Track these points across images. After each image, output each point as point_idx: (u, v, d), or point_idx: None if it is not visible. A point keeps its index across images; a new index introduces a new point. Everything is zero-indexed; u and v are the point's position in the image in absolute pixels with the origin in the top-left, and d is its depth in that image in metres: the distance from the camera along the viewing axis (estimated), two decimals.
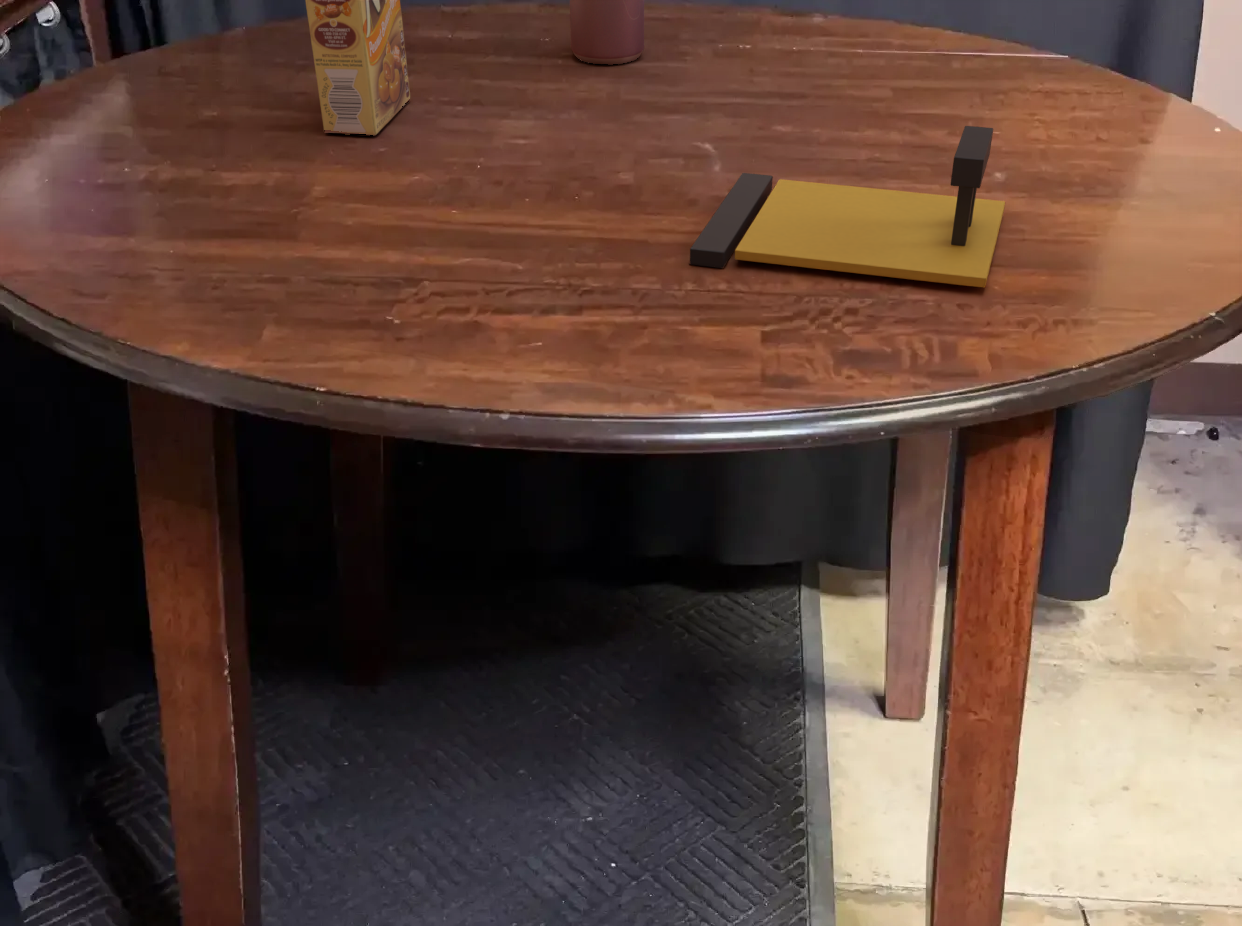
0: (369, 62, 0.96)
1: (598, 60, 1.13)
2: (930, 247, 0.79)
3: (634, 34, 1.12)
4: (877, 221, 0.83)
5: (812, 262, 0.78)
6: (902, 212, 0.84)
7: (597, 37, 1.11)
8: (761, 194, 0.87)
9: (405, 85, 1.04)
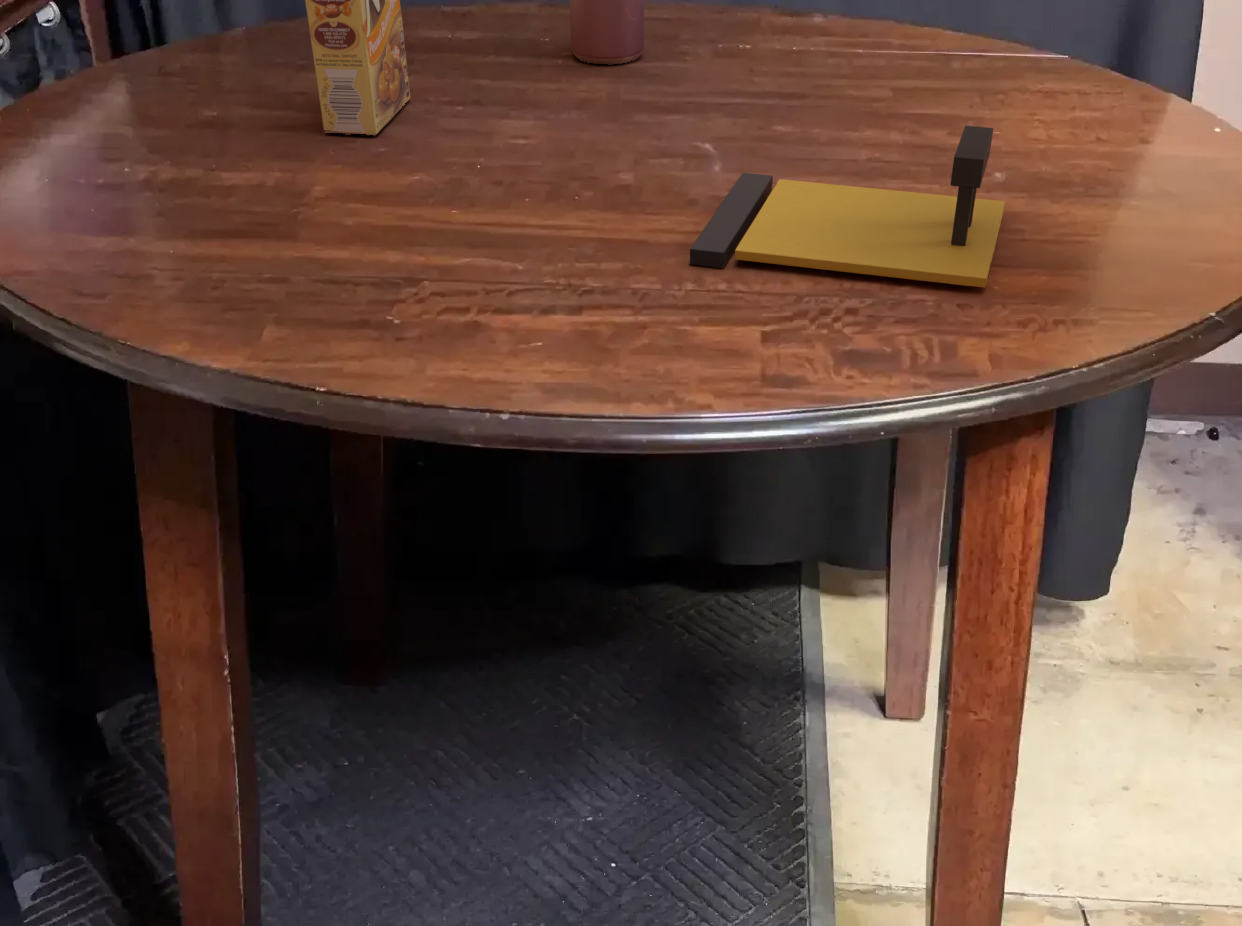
0: (369, 62, 0.96)
1: (598, 60, 1.13)
2: (930, 247, 0.79)
3: (634, 34, 1.12)
4: (877, 221, 0.83)
5: (812, 262, 0.78)
6: (902, 212, 0.84)
7: (597, 37, 1.11)
8: (761, 194, 0.87)
9: (405, 85, 1.04)
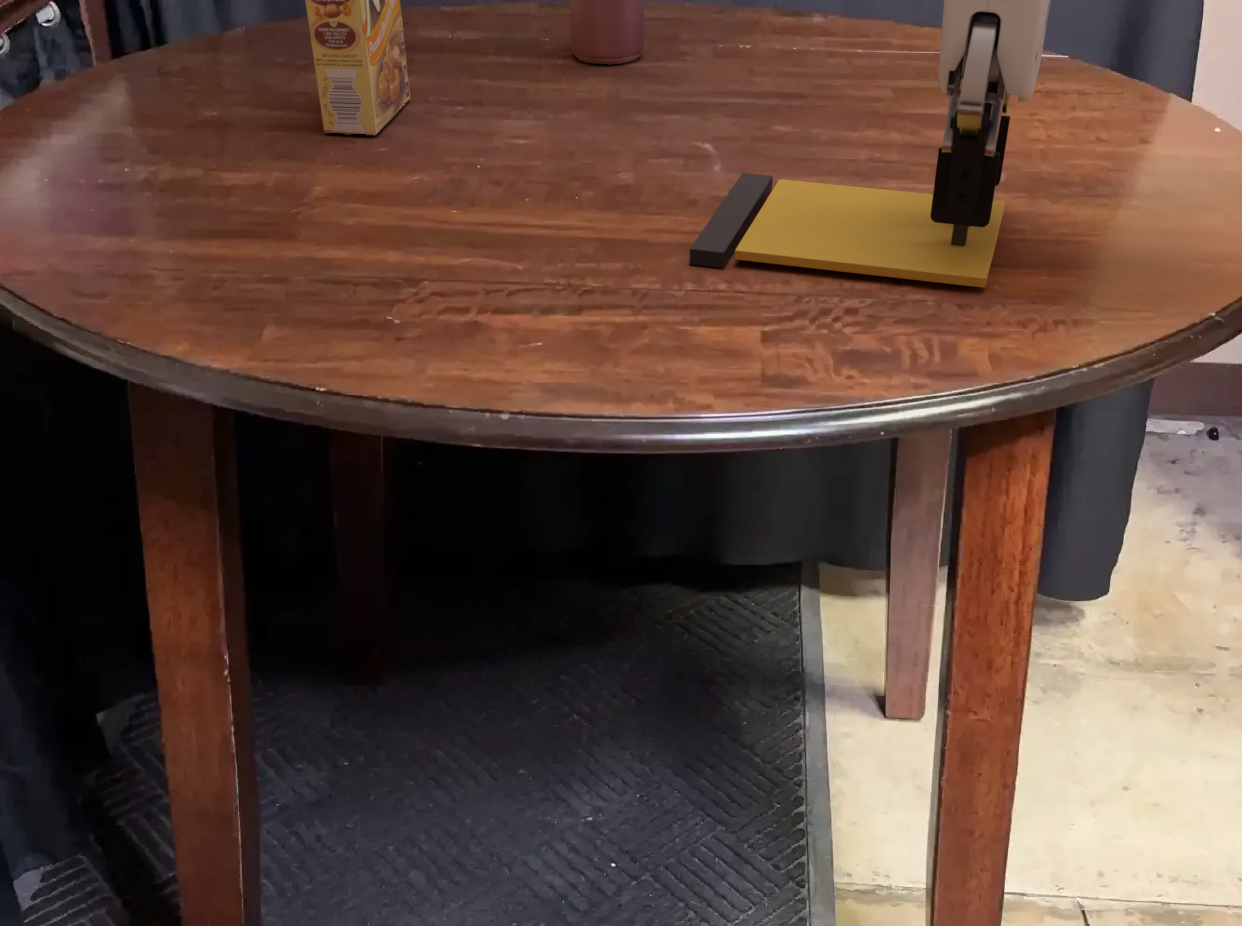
0: (369, 62, 0.96)
1: (598, 60, 1.13)
2: (930, 247, 0.79)
3: (634, 34, 1.12)
4: (877, 221, 0.83)
5: (812, 262, 0.78)
6: (902, 212, 0.84)
7: (597, 37, 1.11)
8: (761, 194, 0.87)
9: (405, 85, 1.04)
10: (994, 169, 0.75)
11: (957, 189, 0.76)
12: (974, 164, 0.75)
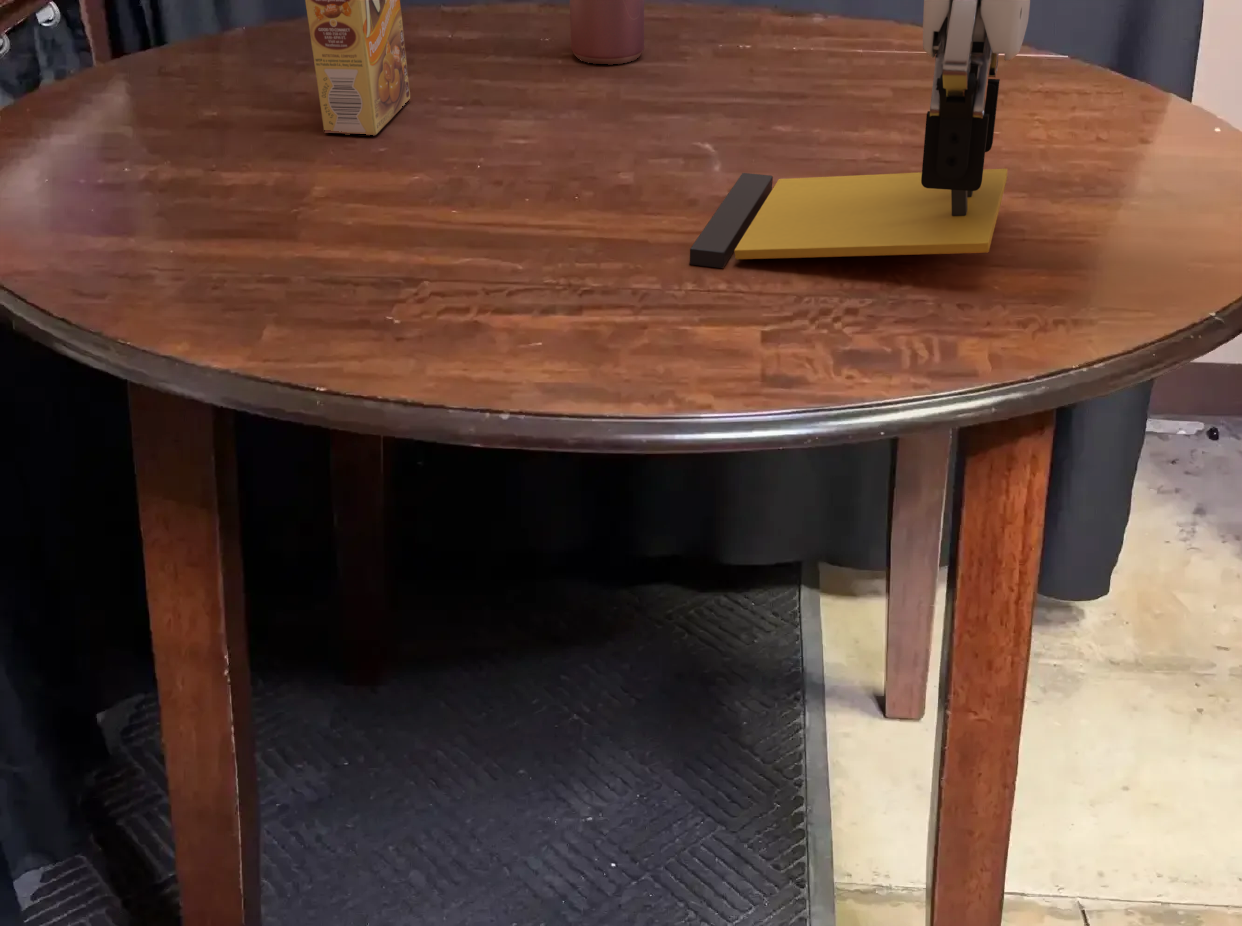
0: (369, 62, 0.96)
1: (598, 60, 1.13)
2: (931, 221, 0.79)
3: (634, 34, 1.12)
4: (877, 204, 0.82)
5: (812, 251, 0.78)
6: (902, 192, 0.83)
7: (597, 37, 1.11)
8: (761, 194, 0.87)
9: (405, 85, 1.04)
10: (983, 131, 0.74)
11: (947, 153, 0.75)
12: (963, 126, 0.74)
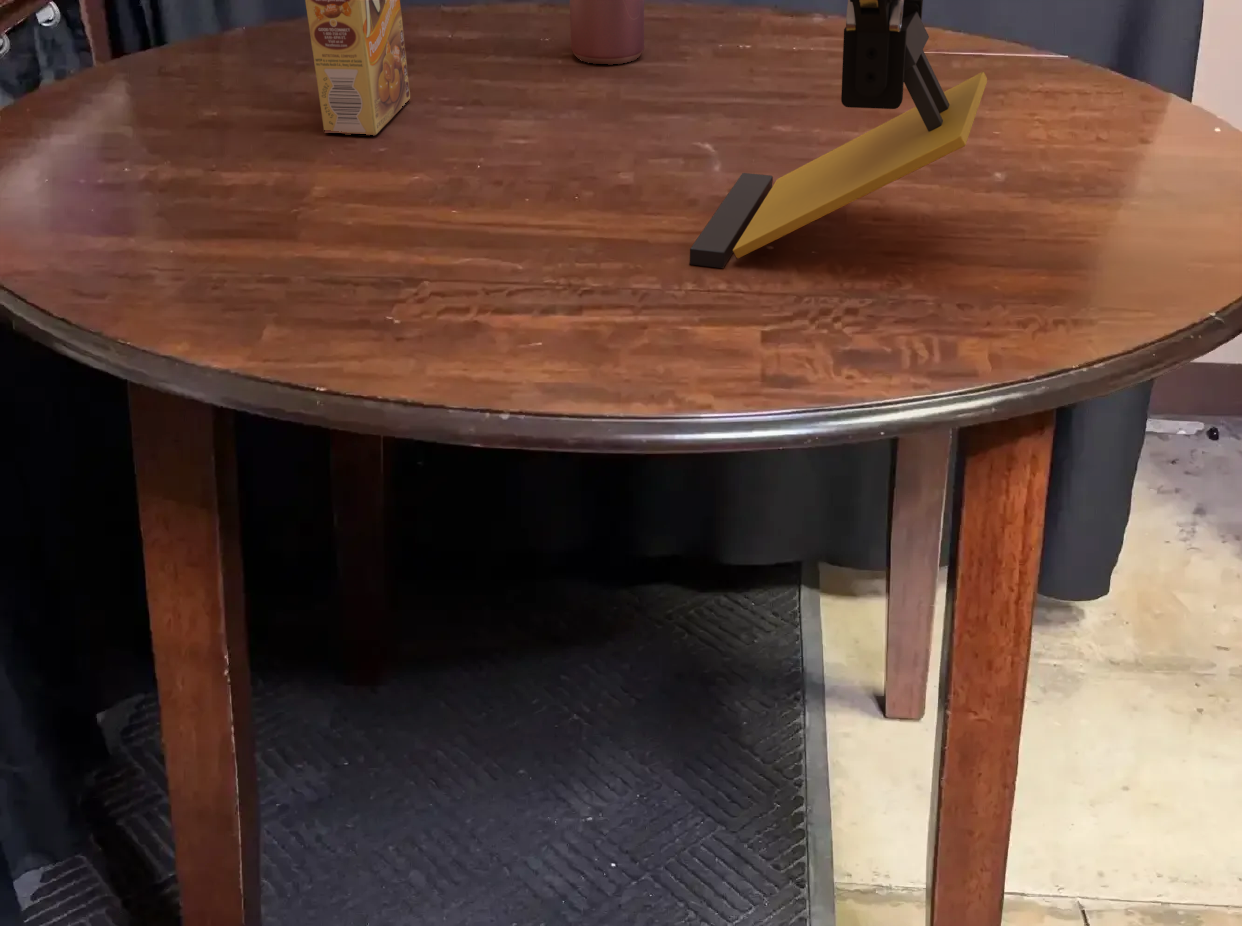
0: (369, 62, 0.96)
1: (598, 60, 1.13)
2: (909, 145, 0.77)
3: (634, 34, 1.12)
4: (861, 156, 0.81)
5: (802, 219, 0.77)
6: (885, 136, 0.82)
7: (597, 37, 1.11)
8: (761, 194, 0.87)
9: (405, 85, 1.04)
10: (901, 46, 0.73)
11: (865, 69, 0.73)
12: (880, 41, 0.72)
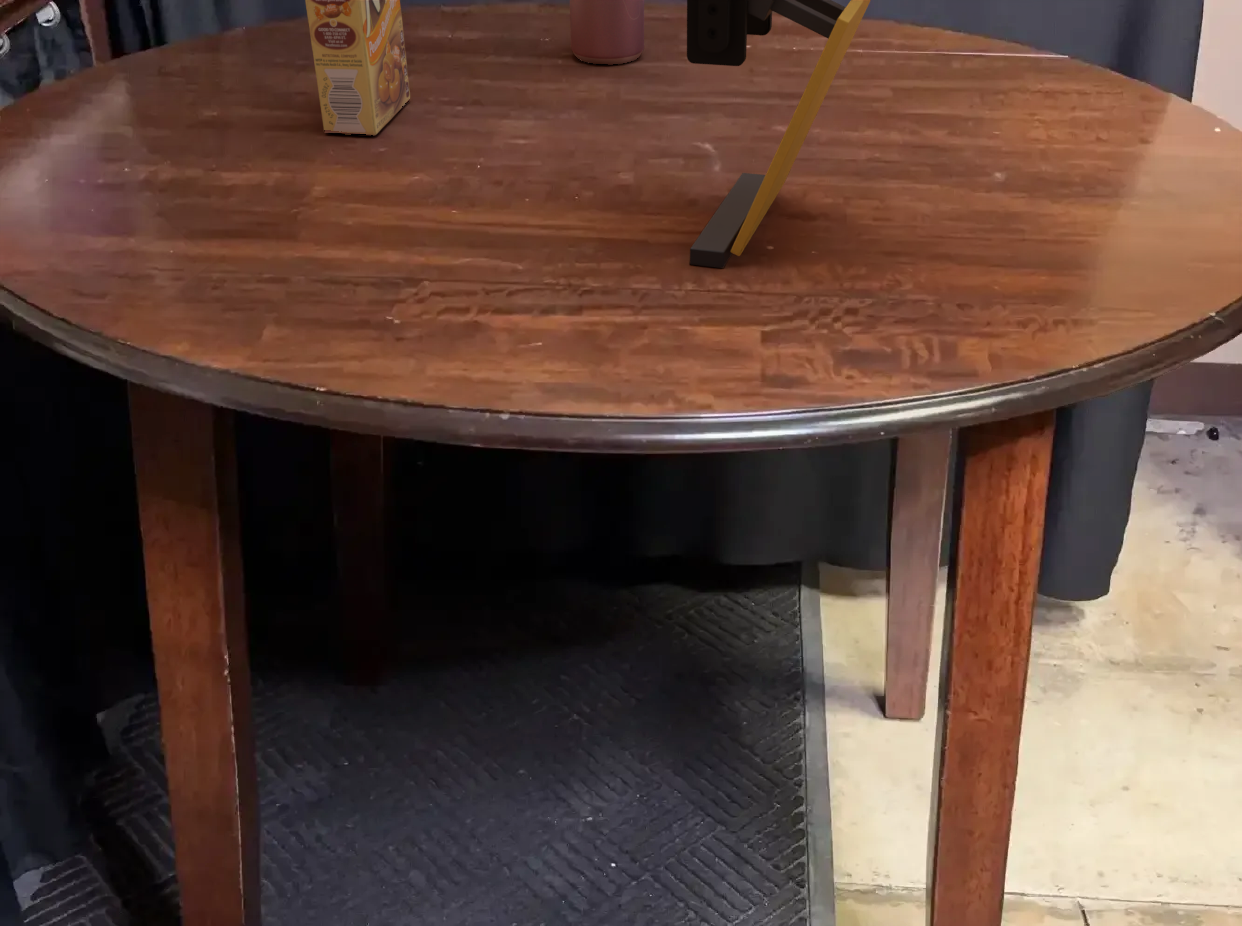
0: (369, 62, 0.96)
1: (598, 60, 1.13)
2: None
3: (634, 34, 1.12)
4: None
5: (765, 185, 0.77)
6: None
7: (597, 37, 1.11)
8: None
9: (405, 85, 1.04)
10: (742, 3, 0.74)
11: (707, 25, 0.75)
12: None
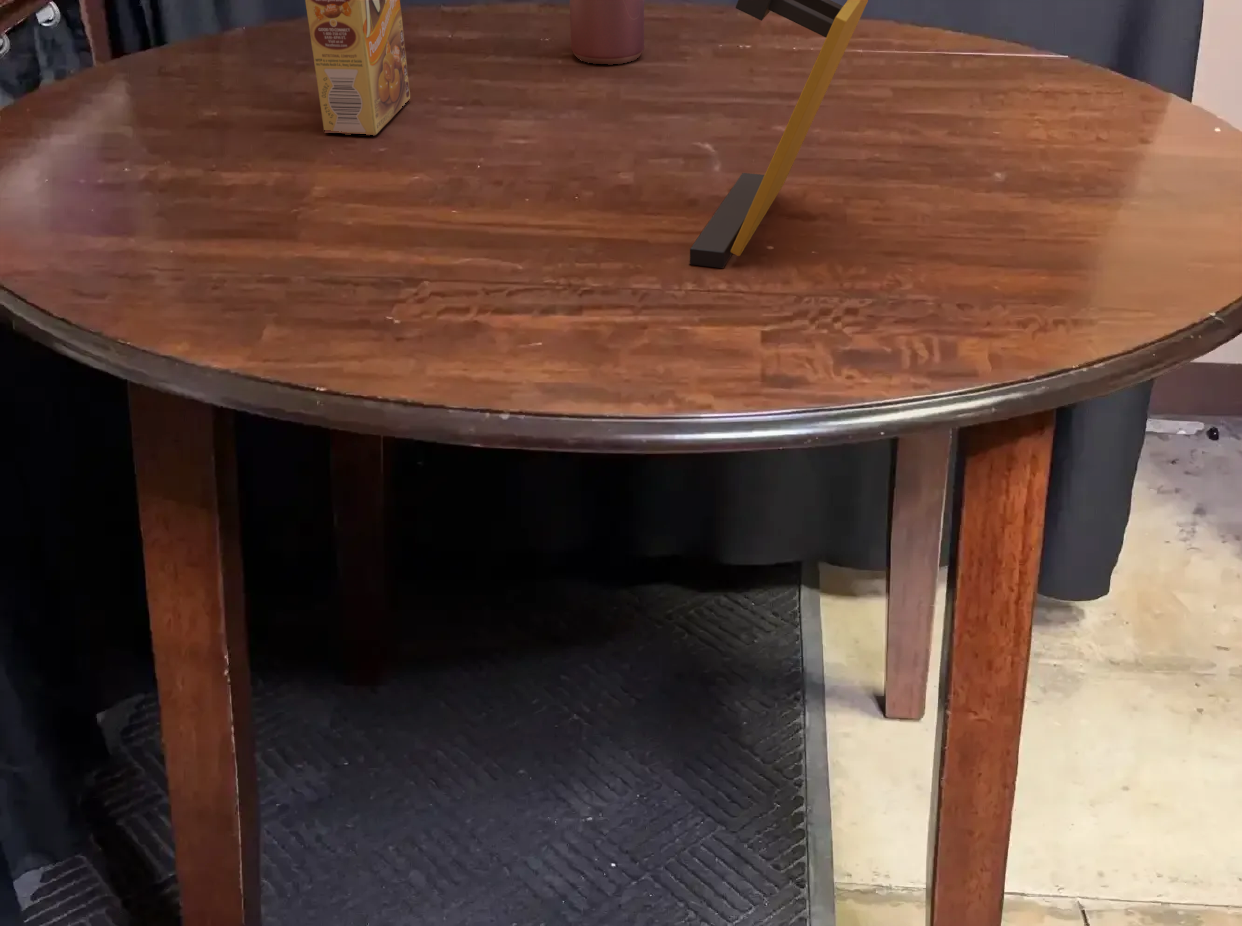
0: (369, 62, 0.96)
1: (598, 60, 1.13)
2: None
3: (634, 34, 1.12)
4: None
5: (764, 184, 0.77)
6: None
7: (597, 37, 1.11)
8: None
9: (405, 85, 1.04)
10: None
11: None
12: None
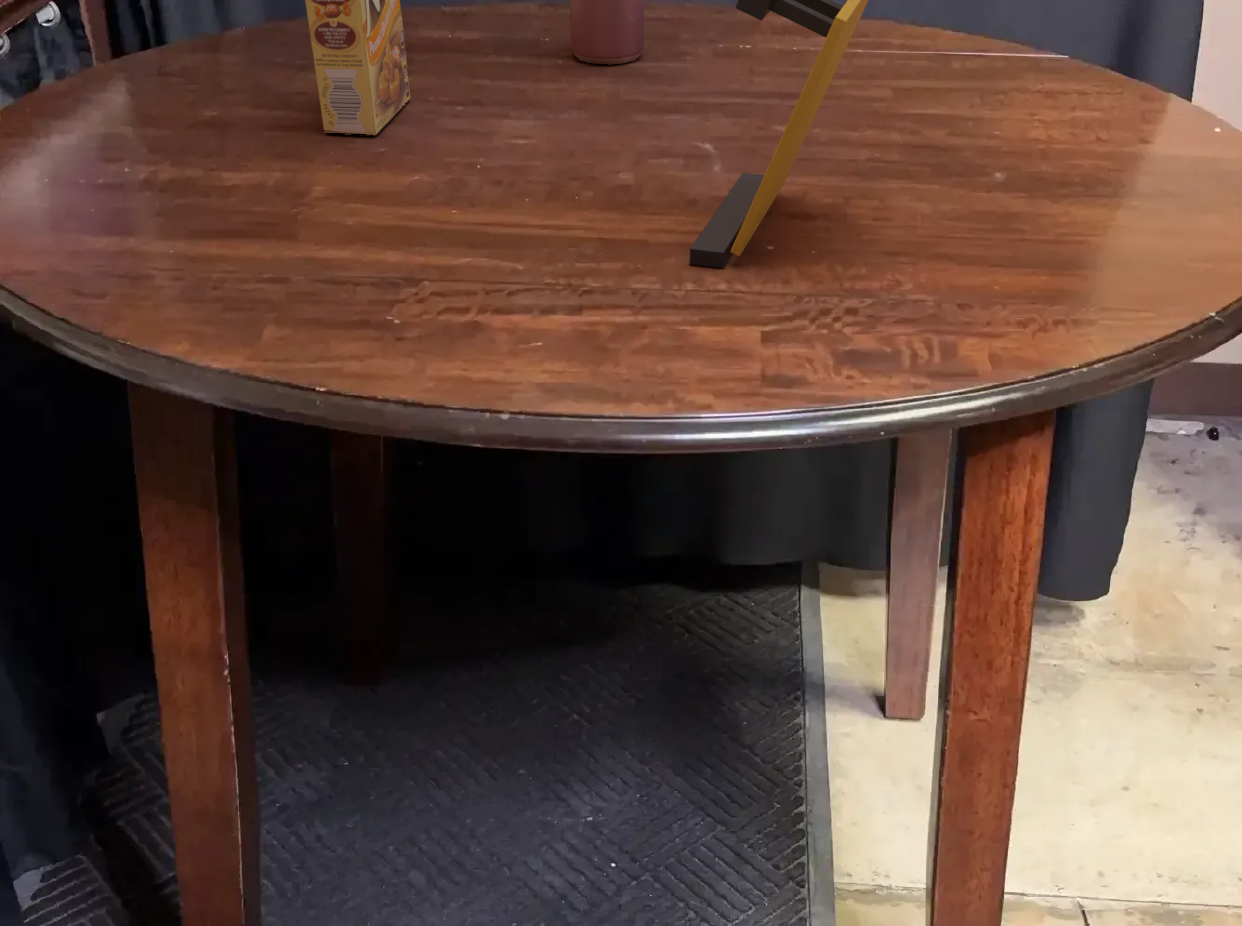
0: (369, 62, 0.96)
1: (598, 60, 1.13)
2: None
3: (634, 34, 1.12)
4: None
5: (764, 184, 0.77)
6: None
7: (597, 37, 1.11)
8: None
9: (405, 85, 1.04)
10: None
11: None
12: None
